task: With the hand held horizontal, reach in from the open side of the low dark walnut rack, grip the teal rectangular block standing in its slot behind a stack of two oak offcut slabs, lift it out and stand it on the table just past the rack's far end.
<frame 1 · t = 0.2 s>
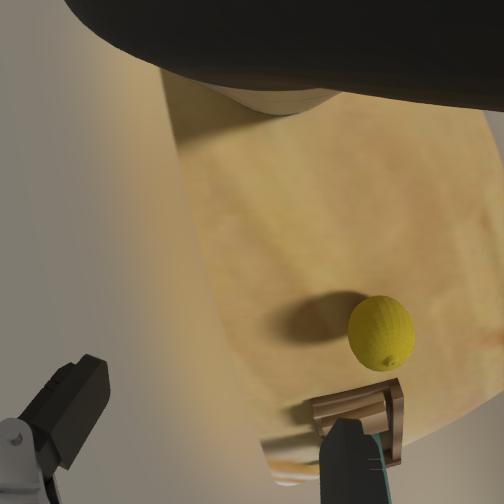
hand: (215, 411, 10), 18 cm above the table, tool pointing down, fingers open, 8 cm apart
rack: (360, 426, 35), on the table
offcut lower: (349, 410, 32), point 1 cm above the table, touching offcut upper, rack
offcut upper: (355, 419, 31), point 2 cm above the table, touching offcut lower
lemon: (370, 305, 28), on the table
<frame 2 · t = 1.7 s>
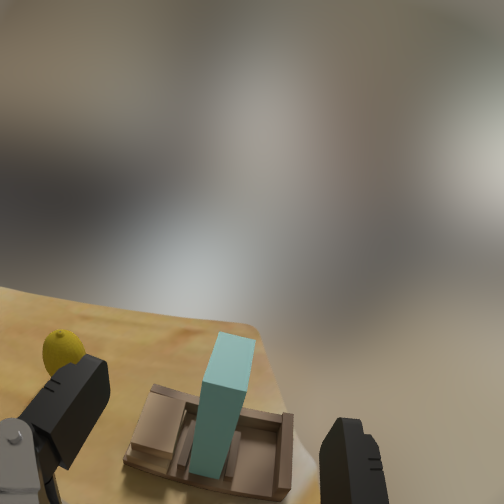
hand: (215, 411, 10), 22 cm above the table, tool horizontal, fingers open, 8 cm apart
teal rectangular block: (209, 453, 28), point 1 cm above the table, touching rack
rack: (210, 450, 29), on the table
offcut lower: (158, 439, 28), point 1 cm above the table, touching offcut upper, rack
offcut upper: (159, 428, 28), point 2 cm above the table, touching offcut lower
lemon: (69, 382, 32), on the table
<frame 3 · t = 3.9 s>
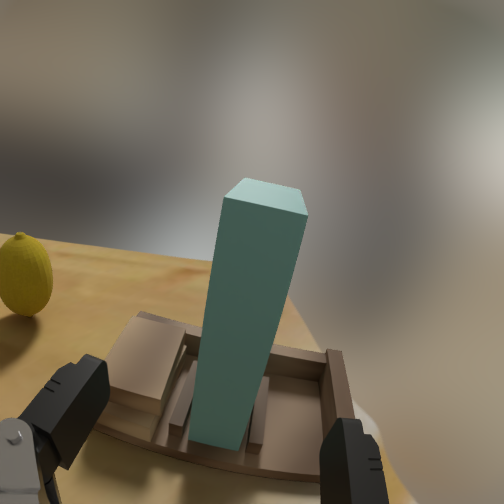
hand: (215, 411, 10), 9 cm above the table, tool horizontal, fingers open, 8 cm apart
teal rectangular block: (221, 410, 19), point 1 cm above the table, touching rack
rack: (222, 409, 20), on the table
offcut lower: (141, 388, 19), point 1 cm above the table, touching offcut upper, rack
offcut upper: (143, 369, 19), point 2 cm above the table, touching offcut lower
lemon: (30, 317, 23), on the table
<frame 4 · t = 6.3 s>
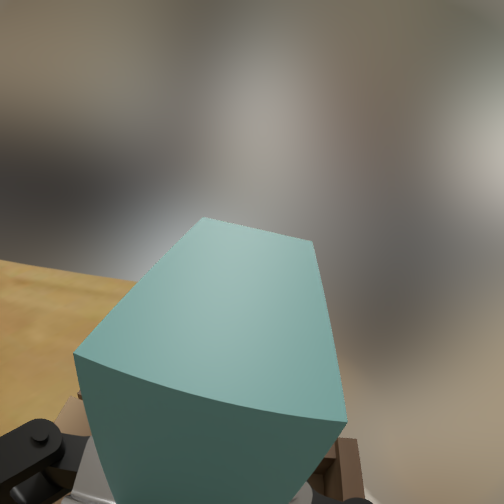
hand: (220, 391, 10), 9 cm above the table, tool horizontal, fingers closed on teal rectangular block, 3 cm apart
offcut upper: (85, 473, 11), point 2 cm above the table, touching offcut lower
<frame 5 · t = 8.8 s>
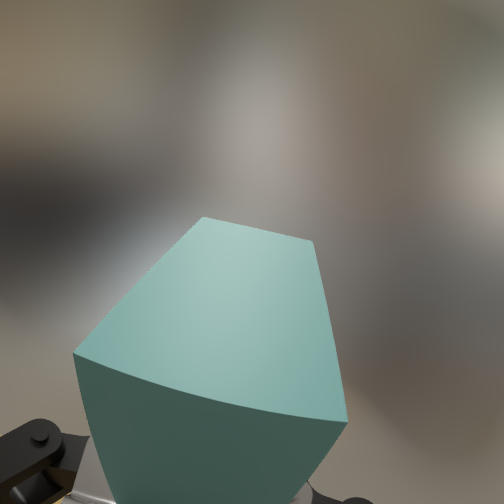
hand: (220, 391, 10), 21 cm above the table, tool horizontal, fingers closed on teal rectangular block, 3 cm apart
when the fingers open (9 cm above the table, at t = 11.3 s): teal rectangular block drops 1 cm, on the table.
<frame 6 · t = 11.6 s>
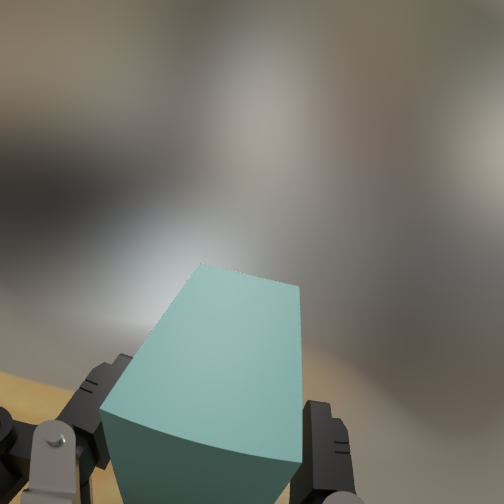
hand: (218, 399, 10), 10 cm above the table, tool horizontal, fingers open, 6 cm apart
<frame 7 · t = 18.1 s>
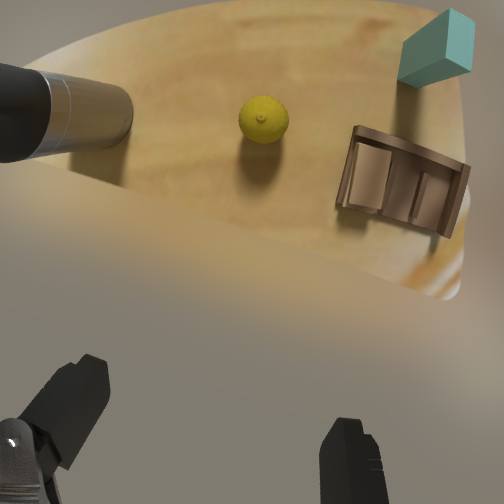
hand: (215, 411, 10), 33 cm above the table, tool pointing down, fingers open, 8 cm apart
teal rectangular block: (410, 64, 32), on the table
rack: (401, 180, 37), on the table
offcut lower: (363, 177, 37), point 1 cm above the table, touching offcut upper, rack
offcut upper: (367, 175, 35), point 2 cm above the table, touching offcut lower
lemon: (266, 121, 37), on the table
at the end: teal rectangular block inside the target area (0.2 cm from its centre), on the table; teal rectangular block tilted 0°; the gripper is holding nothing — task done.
